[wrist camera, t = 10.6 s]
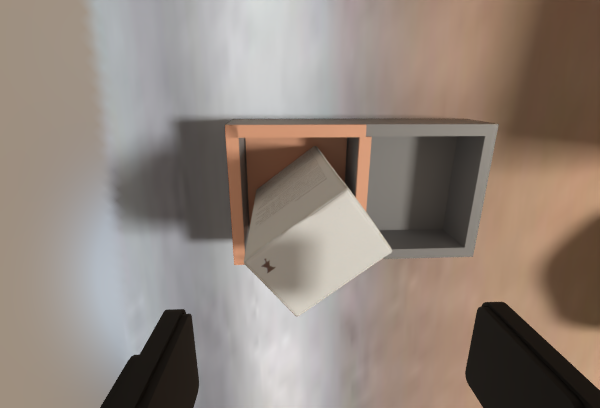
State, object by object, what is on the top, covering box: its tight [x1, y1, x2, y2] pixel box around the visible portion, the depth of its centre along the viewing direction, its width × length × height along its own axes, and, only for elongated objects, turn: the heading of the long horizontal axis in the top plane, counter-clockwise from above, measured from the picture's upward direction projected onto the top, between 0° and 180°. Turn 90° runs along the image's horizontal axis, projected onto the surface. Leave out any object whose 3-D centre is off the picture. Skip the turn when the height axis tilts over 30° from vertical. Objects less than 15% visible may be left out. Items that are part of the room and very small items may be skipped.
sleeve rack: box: [225, 119, 499, 265], centre depth 26 cm, size 18×10×4 cm, turn 90°
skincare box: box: [244, 146, 392, 316], centre depth 21 cm, size 6×4×12 cm
